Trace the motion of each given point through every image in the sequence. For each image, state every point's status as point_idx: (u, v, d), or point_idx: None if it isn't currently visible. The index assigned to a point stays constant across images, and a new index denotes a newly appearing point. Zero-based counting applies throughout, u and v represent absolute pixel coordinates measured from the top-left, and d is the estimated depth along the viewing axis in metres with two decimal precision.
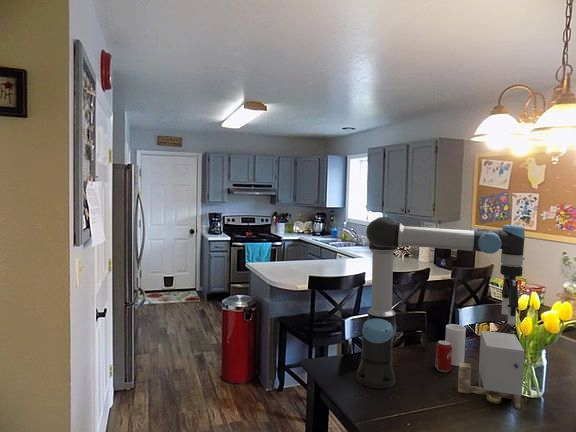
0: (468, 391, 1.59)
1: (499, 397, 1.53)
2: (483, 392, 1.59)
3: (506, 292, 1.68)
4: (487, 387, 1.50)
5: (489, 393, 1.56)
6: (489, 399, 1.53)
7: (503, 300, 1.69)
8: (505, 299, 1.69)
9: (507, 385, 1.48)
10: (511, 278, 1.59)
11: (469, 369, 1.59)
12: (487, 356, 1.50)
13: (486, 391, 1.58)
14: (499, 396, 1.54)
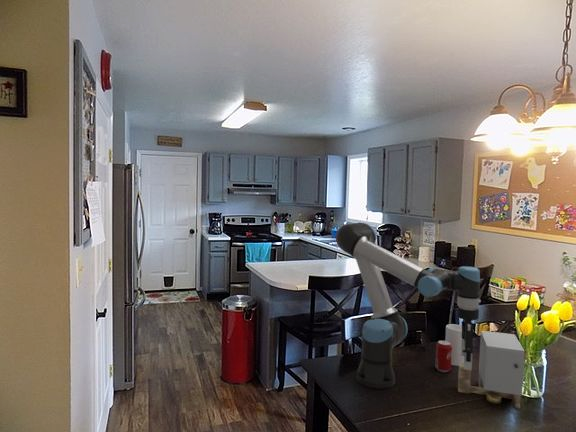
0: (468, 391, 1.59)
1: (499, 397, 1.53)
2: (483, 392, 1.59)
3: None
4: (487, 387, 1.50)
5: (489, 393, 1.56)
6: (489, 399, 1.53)
7: (462, 342, 1.67)
8: (464, 341, 1.66)
9: (507, 385, 1.48)
10: (467, 322, 1.56)
11: None
12: (487, 356, 1.50)
13: (486, 391, 1.58)
14: (499, 396, 1.54)
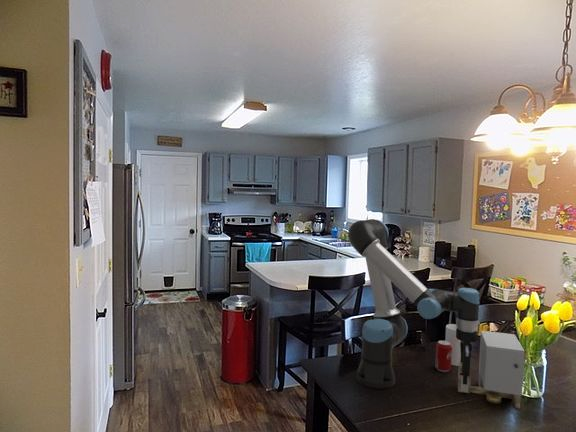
0: (468, 391, 1.59)
1: (499, 397, 1.53)
2: (483, 392, 1.59)
3: None
4: (487, 387, 1.50)
5: (489, 393, 1.56)
6: (489, 399, 1.53)
7: None
8: None
9: (507, 385, 1.48)
10: (465, 344, 1.57)
11: None
12: (487, 356, 1.50)
13: (486, 391, 1.58)
14: (499, 396, 1.54)
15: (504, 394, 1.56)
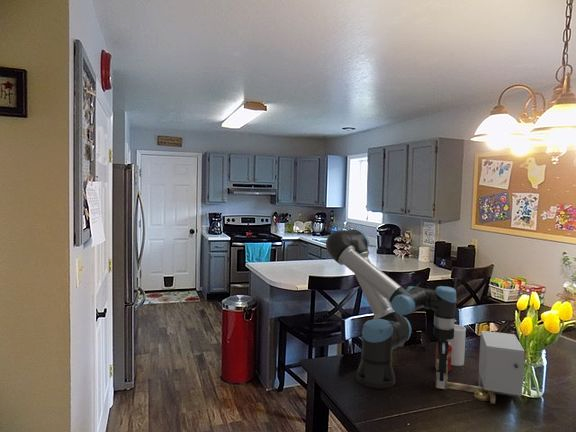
0: (445, 387, 1.62)
1: (487, 394, 1.54)
2: (460, 388, 1.61)
3: None
4: (487, 387, 1.50)
5: (477, 390, 1.57)
6: (477, 396, 1.55)
7: None
8: None
9: (507, 385, 1.48)
10: (442, 341, 1.60)
11: (446, 365, 1.61)
12: (487, 356, 1.50)
13: (463, 387, 1.61)
14: (487, 393, 1.55)
15: None
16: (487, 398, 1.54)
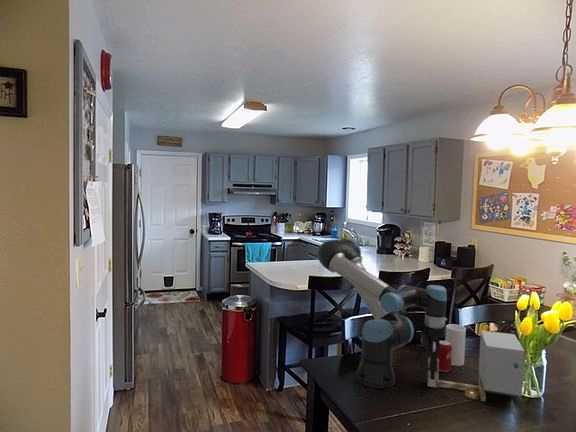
0: (437, 385, 1.63)
1: (477, 393, 1.55)
2: (451, 386, 1.62)
3: None
4: (487, 387, 1.50)
5: (468, 389, 1.58)
6: (467, 395, 1.56)
7: None
8: None
9: (507, 385, 1.48)
10: (433, 340, 1.61)
11: (437, 364, 1.62)
12: (487, 356, 1.50)
13: (454, 385, 1.62)
14: (477, 392, 1.56)
15: (471, 388, 1.60)
16: (477, 397, 1.55)
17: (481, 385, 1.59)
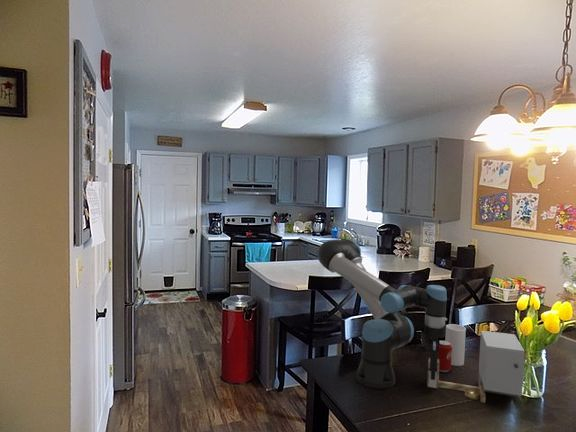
0: (437, 386, 1.63)
1: (477, 393, 1.55)
2: (451, 387, 1.62)
3: None
4: (487, 387, 1.50)
5: (468, 389, 1.58)
6: (467, 395, 1.56)
7: None
8: None
9: (507, 385, 1.48)
10: (433, 339, 1.61)
11: (437, 364, 1.62)
12: (487, 356, 1.50)
13: (454, 386, 1.62)
14: (477, 392, 1.56)
15: None
16: (477, 397, 1.55)
17: (481, 386, 1.58)
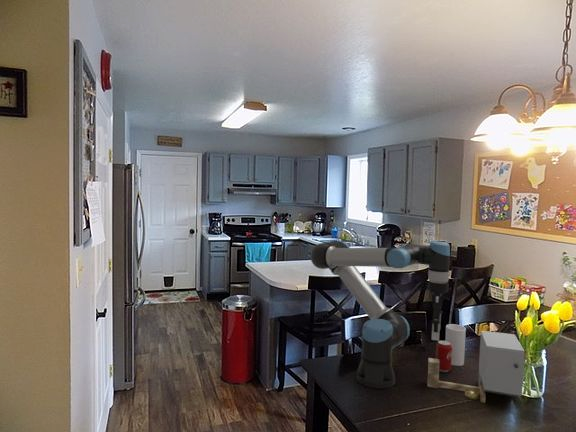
0: (437, 386, 1.63)
1: (477, 393, 1.55)
2: (451, 387, 1.62)
3: None
4: (487, 387, 1.50)
5: (468, 389, 1.58)
6: (467, 395, 1.56)
7: None
8: None
9: (507, 385, 1.48)
10: (436, 294, 1.61)
11: (437, 364, 1.62)
12: (487, 356, 1.50)
13: (454, 386, 1.62)
14: (477, 392, 1.56)
15: None
16: (477, 396, 1.55)
17: (481, 386, 1.58)
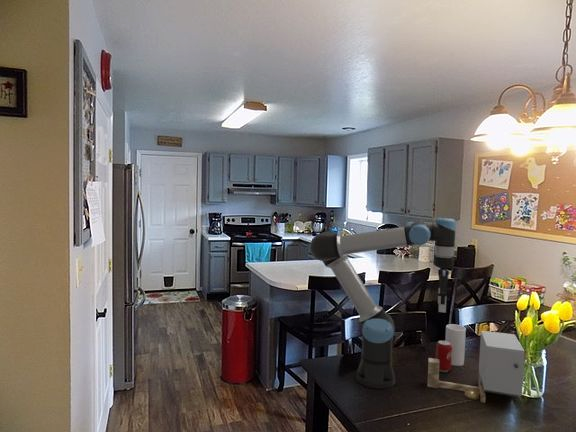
0: (437, 386, 1.63)
1: (477, 393, 1.55)
2: (451, 387, 1.62)
3: None
4: (487, 387, 1.50)
5: (467, 389, 1.58)
6: (468, 395, 1.55)
7: (439, 290, 1.78)
8: None
9: (507, 385, 1.48)
10: (442, 268, 1.68)
11: (437, 364, 1.62)
12: (487, 356, 1.50)
13: (454, 386, 1.62)
14: (477, 392, 1.56)
15: None
16: (478, 397, 1.55)
17: (481, 386, 1.58)
